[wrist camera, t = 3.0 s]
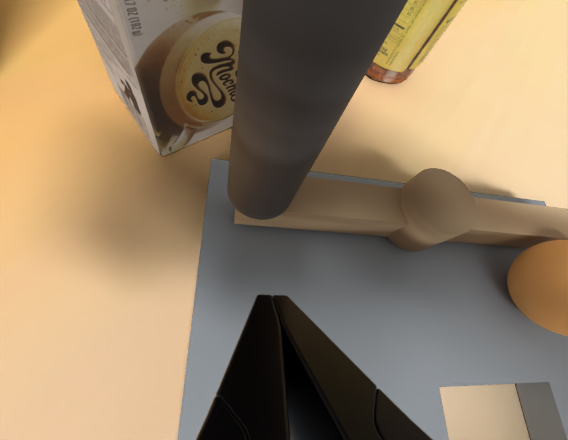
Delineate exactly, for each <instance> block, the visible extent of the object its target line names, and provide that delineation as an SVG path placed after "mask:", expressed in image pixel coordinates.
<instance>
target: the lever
mask: <svg viewBox="0 0 568 440" xmlns="http://www.w3.org/2000/svg"><path fill="white" fill-rule="evenodd" d="M407 1H408V0H243V9H242V21H241V32H240V44H239V56H238V67H237V79H236V90H235V102H234V113H233V125H232V137H231V148H230V160H229V171H228V183H227V192H228V196H229V199H230V201H231V203H232V204H233V206H234V207H235V219H234V224H244V225H256V226H268V227H280V228H292V229H304V230H316V231H328V232H340V233H352V234H364V235H376V236H387V237H388V239H389V240H390V241H391V242H392V243H393V244H395V245H396V246H397V247H399V248H401V249H403V250H406V251H411V252H417V251H422V250H424V249H427V248H429V247H432V246H434V245H436V244H439V243H441V242H444V241H449V242H461V243H473V244H485V245H497V246H509V247H521V248H530V247H532V246H534V245H537V244H539V243H542V242H547V241H552V240H568V209H564V208H556V207H548V206H540V205H532V204H524V203H516V202H508V201H500V200H492V199H484V198H476V197H473V196H472V194H471V193H470V191H469V189H468V188H467V187H466V186H465V184H464V183H463V182H462V181H461V180H459V179H458V178H457V177H456V176H454V175H453V174H451V173H449V172H447V171H444V170H441V169H435V168H431V169H426V170H423V171H421V172H420V173H419V174H417V175H416V176H415V177H414V178H412V179H411V180H410V181H409V182H407V183H406V184H405V185H403V186H402V187H401V188H396V187H388V186H380V185H372V184H364V183H356V182H348V181H340V180H332V179H324V178H316V177H308V176H307V174H308V172H309V171H310V169H311V167H312V165H313V164H314V162H315V160H316V158H317V157H318V155H319V153H320V152H321V150H322V148H323V146H324V145H325V143H326V141H327V139H328V138H329V136H330V134H331V133H332V131H333V129H334V127H335V126H336V124H337V122H338V120H339V119H340V117H341V115H342V114H343V112H344V110H345V108H346V107H347V105H348V103H349V101H350V100H351V98H352V96H353V95H354V93H355V91H356V89H357V88H358V86H359V84H360V82H361V81H362V79H363V77H364V76H365V74H366V72H367V70H368V69H369V67H370V65H371V63H372V62H373V60H374V58H375V57H376V55H377V53H378V51H379V50H380V48H381V46H382V44H383V43H384V41H385V39H386V38H387V36H388V34H389V32H390V31H391V29H392V27H393V25H394V24H395V22H396V20H397V19H398V17H399V15H400V13H401V12H402V10H403V8H404V6H405V5H406V3H407Z"/></svg>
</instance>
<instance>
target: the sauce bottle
mask: <svg viewBox="0 0 568 440" xmlns="http://www.w3.org/2000/svg"><path fill="white" fill-rule="evenodd" d="M466 1H467V0H408V1H407V3H406V5H405V6H404V8H403V10H402V12H401V13H400V15H399V17H398V19H397V20H396V22H395V24H394V25H393V27H392V29H391V31H390V32H389V34H388V36H387V38H386V39H385V41H384V43H383V44H382V46H381V48H380V50H379V51H378V53H377V55H376V57H375V58H374V60H373V62H372V63H371V65H370V67H369V69H368V70H367V72H366V75H368V76H369V77H371V78H372V79H374V80H377V81H381V82H386V83H392V84H397V83H401V82H403V81H404V80H406V79H407V78H408V77H409V76H410V75H411V73H412V72H413V71H414V69H415V68H416V67H418V66H419V65H420V64H421V63H422V62H423V60H424V59H425V58H426V56H427V55H428V53H429V52H430V51H431V49H432V48H433V47H434V45H435V44H436V43H437V41H438V40H439V38H440V37H441V36H442V34H443V33H444V32H445V30H446V29H447V28H448V26H449V25H450V23H451V22H452V21H453V19H454V18H455V16H456V15H457V14H458V12H459V11H460V10H461V8H462V7H463V5H464V4H465V3H466Z"/></svg>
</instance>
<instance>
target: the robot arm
mask: <svg viewBox="0 0 568 440" xmlns="http://www.w3.org/2000/svg"><path fill="white" fill-rule="evenodd" d="M196 440H433V439H432V438H431V437H429V436H428V435H427V434H426V433H425V432H424V431H423V430H422V429H421V428H420V427H418V426H417V425H416V424H415V423H414V422H413V421H412V420H411V419H410V418H409V417H408V416H407V415H406V414H405V413H404V412H403V411H402V410H401V409H400V408H399V407H398V406H397V405H395V404H394V403H393V402H392V401H391V400H390V399H389V398H388V397H387V396H386V395H385V394H384V393H383V392H382V391H381V390H380V389H377V386H376V385H375V384H374V383H373V382H372V381H371V380H370V379H369V378H368V377H367V376H366V375H365V374H364V373H363V372H362V371H361V369H360V368H359V367H358V366H357V365H356V364H355V363H354V362H353V361H352V360H351V359H350V358H349V357H348V356H347V355H346V354H345V353H344V352H343V351H342V350H341V349H340V348H339V347H338V346H337V345H336V344H335V343H334V342H333V341H332V340H331V339H330V338H329V337H328V336H327V335H326V334H325V333H324V332H323V331H322V330H321V329H320V328H319V327H318V326H317V325H316V324H315V323H314V322H313V321H312V320H311V319H310V318H309V317H308V316H307V315H306V314H305V313H304V312H303V311H302V310H301V309H300V308H299V307H298V306H297V305H296V304H295V303H294V302H293V301H292V300H291V299H290V298H289V297H288V296H286V295H273V296H271V295H262V294H259V295H257V296H256V299H255V301H254V303H253V306H252V308H251V311H250V313H249V315H248V318H247V320H246V323H245V325H244V328H243V330H242V332H241V335H240V337H239V340H238V342H237V344H236V347H235V349H234V352H233V354H232V356H231V359H230V361H229V364H228V366H227V369H226V371H225V373H224V376H223V378H222V381H221V383H220V385H219V388H218V390H217V393H216V397H214V399H213V402H212V404H211V406H210V409H209V411H208V414H207V416H206V418H205V420H204V423H203V425H202V427H201V429H200V431H199V434H198V436H197V438H196Z"/></svg>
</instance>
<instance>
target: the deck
mask: <svg viewBox="0 0 568 440" xmlns="http://www.w3.org/2000/svg"><path fill="white" fill-rule="evenodd" d="M228 171H229V161H228V160H220V159H212V158H211V166H210V175H209V183H208V191H207V200H206V208H205V216H204V225H203V233H202V241H201V250H200V258H199V266H198V275H197V283H196V292H195V300H194V308H193V317H192V325H191V333H190V342H189V350H188V358H187V367H186V375H185V383H184V392H183V400H182V408H181V417H180V425H179V434H178V440H196V438H197V436H198V434H199V431H200V429H201V427H202V425H203V423H204V420H205V418H206V416H207V414H208V411H209V409H210V406H211V404H212V402H213V399H214V397H216V393H217V390H218V388H219V385H220V383H221V381H222V378H223V376H224V373H225V371H226V369H227V366H228V364H229V361H230V359H231V356H232V354H233V352H234V349H235V347H236V344H237V342H238V340H239V337H240V335H241V332H242V330H243V328H244V325H245V323H246V320H247V318H248V315H249V313H250V311H251V308H252V306H253V303H254V301H255V299H256V296H257V295H259V294H262V295H271V296H273V295H286V296H288V297H289V298H290V299H291V300H292V301H293V302H294V303H295V304H296V305H297V306H298V307H299V308H300V309H301V310H302V311H303V312H304V313H305V314H306V315H307V316H308V317H309V318H310V319H311V320H312V321H313V322H314V323H315V324H316V325H317V326H318V327H319V328H320V329H321V330H322V331H323V332H324V333H325V334H326V335H327V336H328V337H329V338H330V339H331V340H332V341H333V342H334V343H335V344H336V345H337V346H338V347H339V348H340V349H341V350H342V351H343V352H344V353H345V354H346V355H347V356H348V357H349V358H350V359H351V360H352V361H353V362H354V363H355V364H356V365H357V366H358V367H359V368H360V369H361V371H362V372H363V373H364V374H365V375H366V376H367V377H368V378H369V379H370V380H371V381H372V382H373V383H374V384H375V385H376V386H377V389H380V390H381V391H382V392H383V393H384V394H385V395H386V396H387V397H388V398H389V399H390V400H391V401H392V402H393V403H394V404H395V405H397V406H398V407H399V408H400V409H401V410H402V411H403V412H404V413H405V414H406V415H407V416H408V417H409V418H410V419H411V420H412V421H413V422H414V423H415V424H416V425H417V426H418V427H420V428H421V429H422V430H423V431H424V432H425V433H426V434H427V435H428V436H429V437H431V438H432V439H433V440H449V439H448V433H447V428H446V422H445V417H444V412H443V406H442V401H441V395H440V390H439V387H448V386H470V385H491V384H513V383H515V384H516V388H517V392H518V395H519V399H520V402H521V406H522V410H523V413H524V417H525V420H526V424H527V428H528V431H529V435H530V438H531V440H568V336H565V335H561V334H558V333H554V332H552V331H550V330H547V329H545V328H543V327H541V326H539V325H538V324H536V323H534V322H533V321H531V320H530V319H529V318H528V317H526V316H525V315H524V314H523V313H522V312H521V311H520V310H519V308H518V307H517V306H516V305H515V303H514V302H513V300H512V298H511V296H510V293H509V290H508V285H507V276H508V272H509V268H510V266H511V264H512V263H513V261H514V260H515V259H516V258H517V256H518V255H519V254H521V253H522V252H523V251H525V250H526V249H528V248H521V247H509V246H497V245H485V244H473V243H461V242H449V241H444V242H441V243H439V244H436V245H434V246H432V247H429V248H427V249H424V250H422V251H417V252H411V251H406V250H403V249H401V248H399V247H397V246H396V245H395V244H393V243H392V242H391V241H390V240H389V239H388V237H387V236H376V235H364V234H352V233H340V232H328V231H316V230H304V229H292V228H280V227H268V226H256V225H244V224H234V219H235V207H234V206H233V204H232V203H231V201H230V199H229V196H228V192H227V183H228ZM307 176H308V177H316V178H324V179H332V180H340V181H348V182H356V183H364V184H372V185H380V186H388V187H396V188H401V187H402V186H403V185H405V183H398V182H390V181H382V180H374V179H367V178H359V177H351V176H344V175H336V174H328V173H320V172H313V171H309V172H308V174H307ZM470 193H471V194H472V196H473V197H476V198H484V199H492V200H500V201H508V202H516V203H524V204H532V205H540V206H546V204H545V202H544V201H537V200H529V199H521V198H514V197H506V196H498V195H490V194H483V193H475V192H470Z"/></svg>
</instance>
